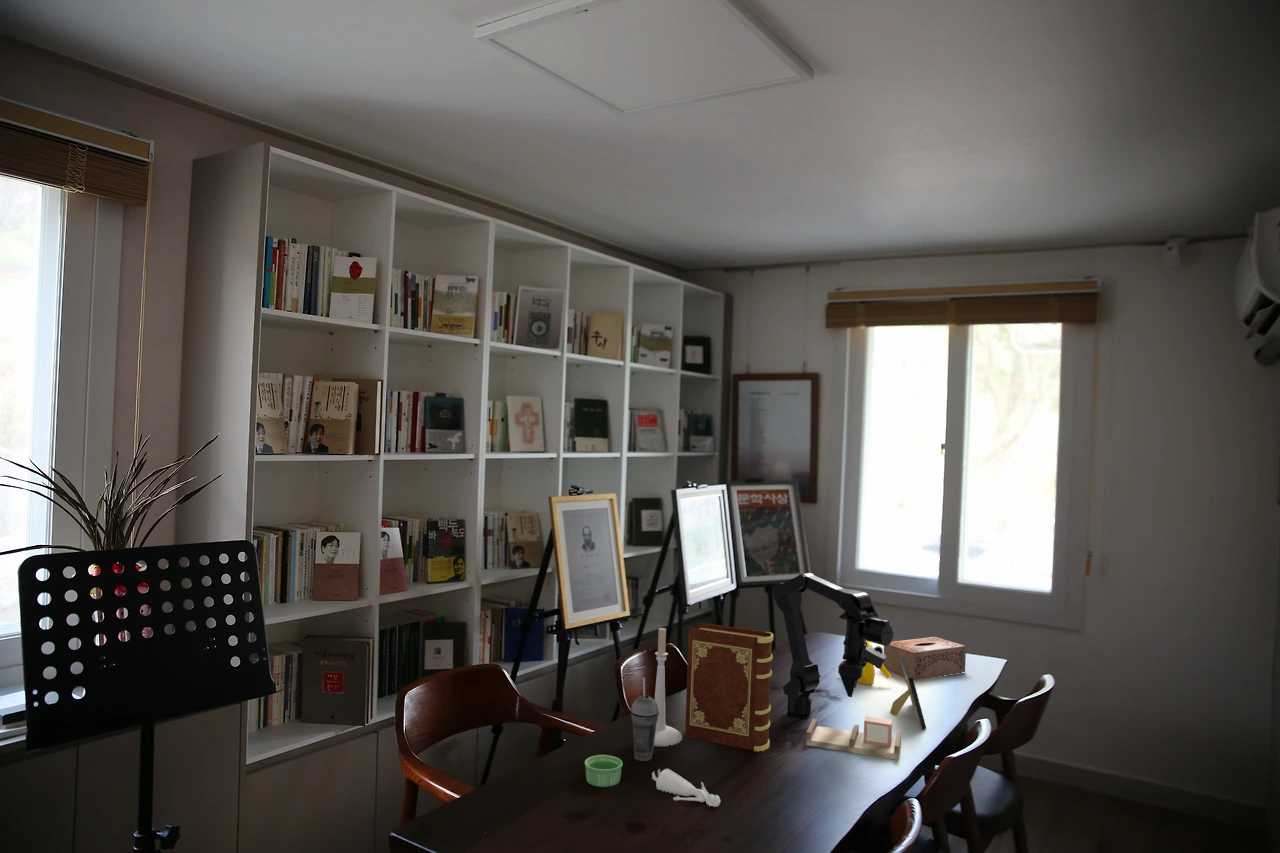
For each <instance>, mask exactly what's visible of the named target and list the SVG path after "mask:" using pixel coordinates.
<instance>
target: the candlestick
mask: <svg viewBox="0 0 1280 853" xmlns="http://www.w3.org/2000/svg"><path fill="white" fill-rule="evenodd" d="M666 637H667V628H666V627H665V628H664V627H661V628H658V638H657V639H658V640H657V651H656V652H655V653H654V654H655V655H656V658H655V660H656V661H657V667H656V668H657V669H656V678H655V679H656V681H655V690H654V700H655V701H656V703H657V705H658V711H659V714H658V720H657V723H656V731H655V740H654V747H669V745H671V746H674V744H675V745H678V744H680V743H681V742H680V741H683V735H682V733H681V732H680V731H678V730H677V729H676V728H674V727H672V726H669V725H667V724H666V684H665V683H666V682H665V681H666V680H665V679H666V676H665V668H666V667H665V661H667V656H668V655H669V653H668V652H666V641H667V640H666V639H667V638H666ZM677 743H678V744H677Z"/></svg>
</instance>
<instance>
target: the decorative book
mask: <svg viewBox="0 0 1280 853" xmlns="http://www.w3.org/2000/svg"><path fill="white" fill-rule="evenodd" d="M773 641H774V633H772V632H771V631H762V630H755V629H749V628H748V629H747V628H742V627H741V628H740V627H735V626H733V627H732V626H726V625H721V624H711V623H703V622H698V623H697V628H695V627H688V641H687V642H688V644H687V645H688V646H687V665H686V666H687V672H686V674H687V675H686V697H685V698H686V699H685V700H686V702H685V723H684V724H685V725H684V726H685V727H684V728H685V729H684V730H685V731H684V732H685V733H684V734H685V735H684V736H685V738H688V739H694V740H697V741H702V742H708V743H711V744H712V743H714V744H717V745H724V746H728V747H733V748H737V747H738V749H742V748H743V750H747V749H748V750H749V751H753V750H754V751H753V752H756V751H757V753H760V752H759V751H762V752H765V751H767V750H768V749H769V748H770V745H771V744H770V743H771V742H770V739H769V729H770V727H771V720H770V712H771V710H772V706H771V705H772V704H770V699H771V677H772V675H773V670H772V668H771V667H772V660H773V653H772V645H773V644H772V643H773ZM766 749H767V750H766ZM764 750H765V751H764Z"/></svg>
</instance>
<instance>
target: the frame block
mask: <svg viewBox="0 0 1280 853" xmlns="http://www.w3.org/2000/svg"><path fill="white" fill-rule="evenodd" d="M863 720H864V722H863V733H864V742H863V743H866V744H872V745H879V746H885V747H891V741H892V738H893V736H892V733H893V720H892V719H887V718H882V717H873V716H867V715H865V717H864V719H863Z"/></svg>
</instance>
